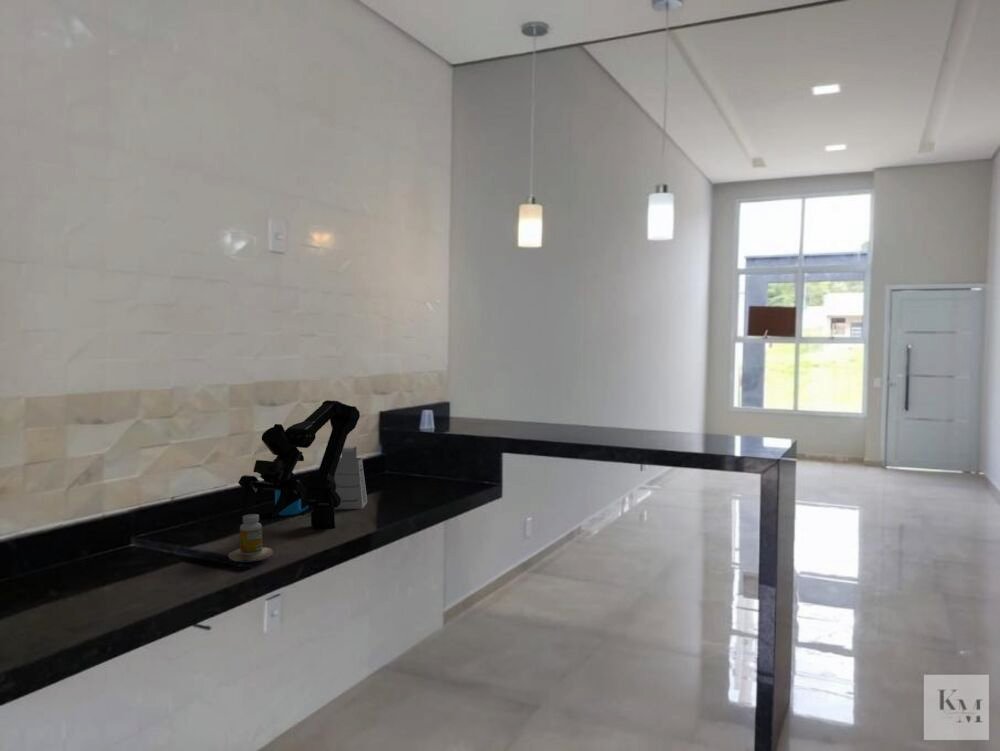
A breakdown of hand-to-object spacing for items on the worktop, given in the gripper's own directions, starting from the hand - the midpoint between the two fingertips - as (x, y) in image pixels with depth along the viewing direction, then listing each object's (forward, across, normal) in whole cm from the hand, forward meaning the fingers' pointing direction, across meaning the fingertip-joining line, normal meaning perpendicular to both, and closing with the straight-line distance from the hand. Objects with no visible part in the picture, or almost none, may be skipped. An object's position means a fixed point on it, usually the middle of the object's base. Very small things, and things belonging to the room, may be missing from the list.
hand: (258, 513), depth 191 cm
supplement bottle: (+9, 0, +5) cm, 10 cm away
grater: (-32, -8, +48) cm, 59 cm away
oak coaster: (+10, 0, +5) cm, 11 cm away
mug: (-21, -19, +37) cm, 47 cm away
